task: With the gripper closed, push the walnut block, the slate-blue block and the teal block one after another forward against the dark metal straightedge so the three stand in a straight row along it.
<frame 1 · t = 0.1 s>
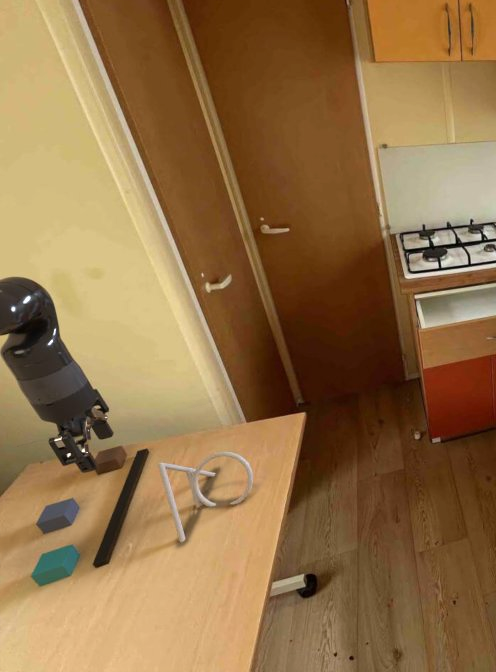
hand: (99, 453, 81), 22 cm above the table, tool pointing down, fingers open, 8 cm apart
walnut block: (115, 467, 103), on the table
slate block: (65, 523, 91), on the table
wire frame: (221, 504, 95), on the table
teal block: (63, 573, 82), on the table
straightedge: (128, 505, 95), on the table
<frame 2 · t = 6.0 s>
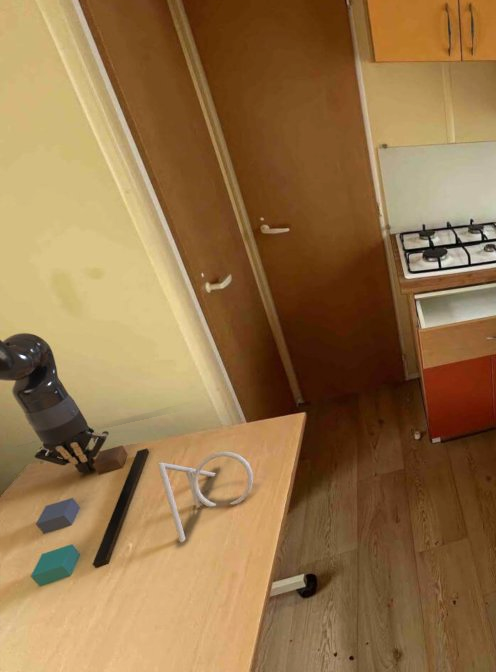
hand: (89, 470, 101), 1 cm above the table, tool pointing down, fingers closed
walnut block: (115, 467, 104), on the table, touching gripper
everything else where it was.
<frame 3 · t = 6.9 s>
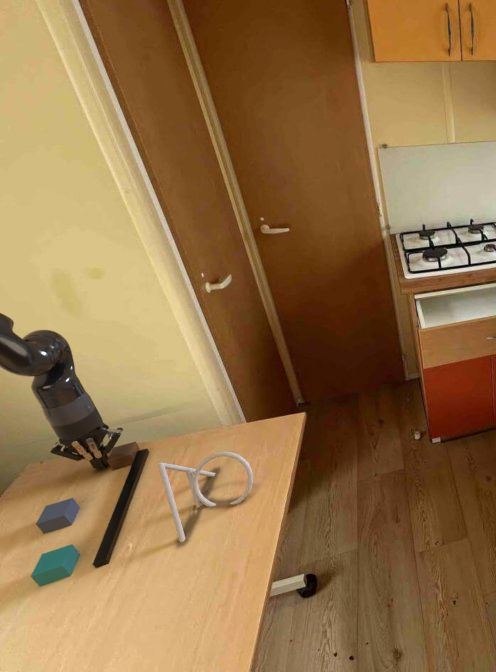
hand: (103, 466, 102), 1 cm above the table, tool pointing down, fingers closed
walnut block: (129, 463, 105), on the table, touching gripper, straightedge
everything else where it was.
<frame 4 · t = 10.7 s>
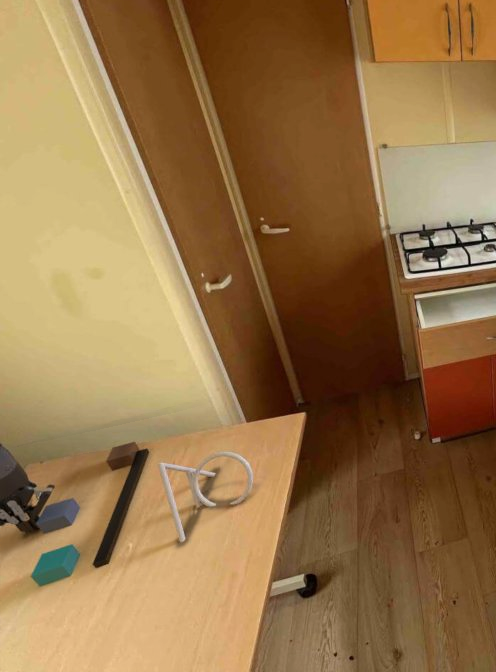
hand: (33, 528, 88), 1 cm above the table, tool pointing down, fingers closed
walnut block: (128, 463, 105), on the table
slate block: (65, 523, 91), on the table, touching gripper
everything else where it was.
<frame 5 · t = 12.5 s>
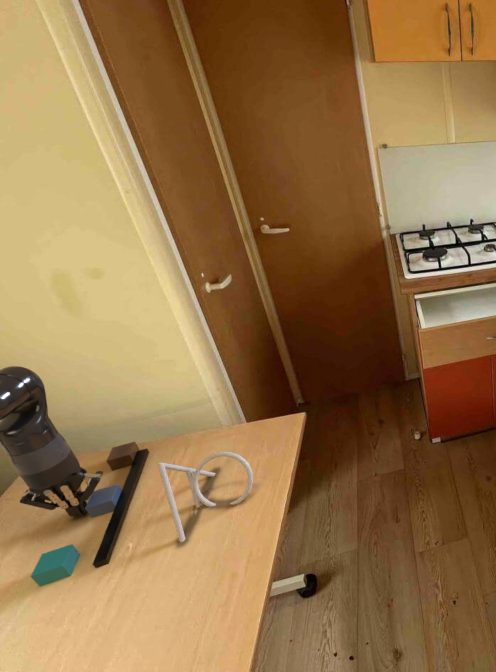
hand: (80, 513, 92), 1 cm above the table, tool pointing down, fingers closed
slate block: (111, 508, 94), on the table, touching gripper, straightedge
everything else where it was.
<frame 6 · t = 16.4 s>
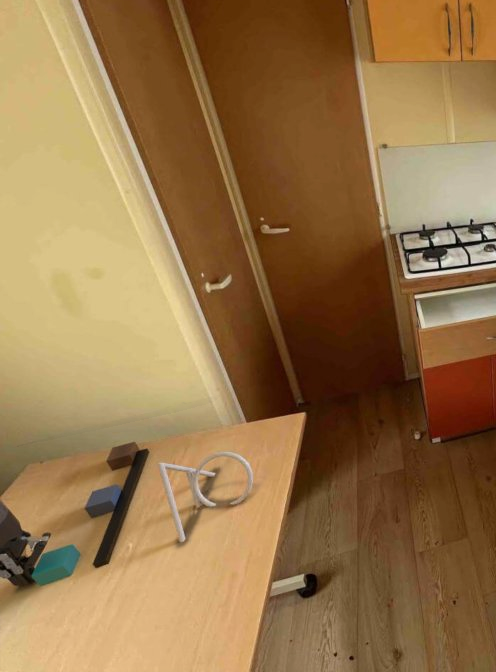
hand: (28, 581, 79), 1 cm above the table, tool pointing down, fingers closed
slate block: (110, 508, 94), on the table
teal block: (64, 573, 82), on the table, touching gripper
everything else where it was.
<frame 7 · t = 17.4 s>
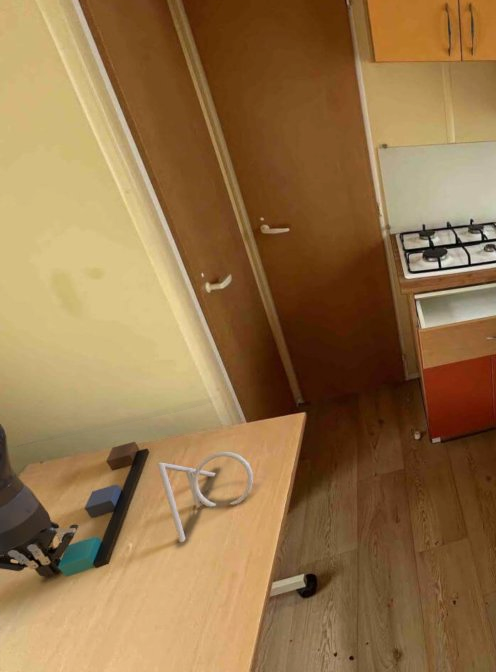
hand: (53, 572, 81), 1 cm above the table, tool pointing down, fingers closed
teal block: (88, 564, 83), on the table, touching gripper, straightedge
everything else where it was.
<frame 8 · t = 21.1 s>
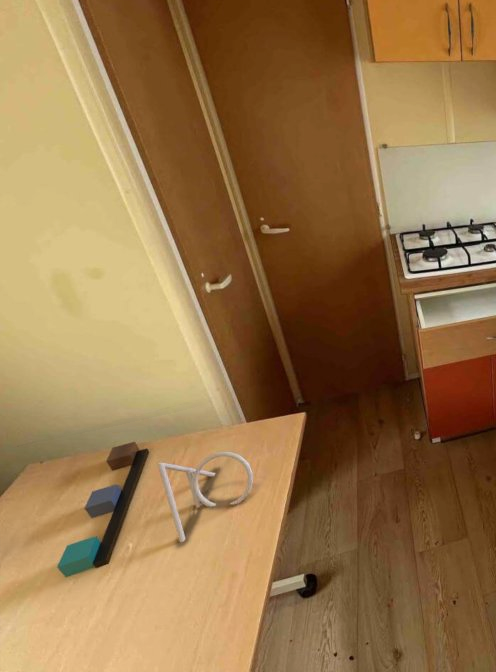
teal block: (87, 564, 83), on the table
everything else where it was.
at the end: walnut block 0.4 cm from the target spot on the table beside the straightedge, on the table; slate block 0.5 cm from the target spot on the table beside the straightedge, on the table; teal block 0.5 cm from the target spot on the table beside the straightedge, on the table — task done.
